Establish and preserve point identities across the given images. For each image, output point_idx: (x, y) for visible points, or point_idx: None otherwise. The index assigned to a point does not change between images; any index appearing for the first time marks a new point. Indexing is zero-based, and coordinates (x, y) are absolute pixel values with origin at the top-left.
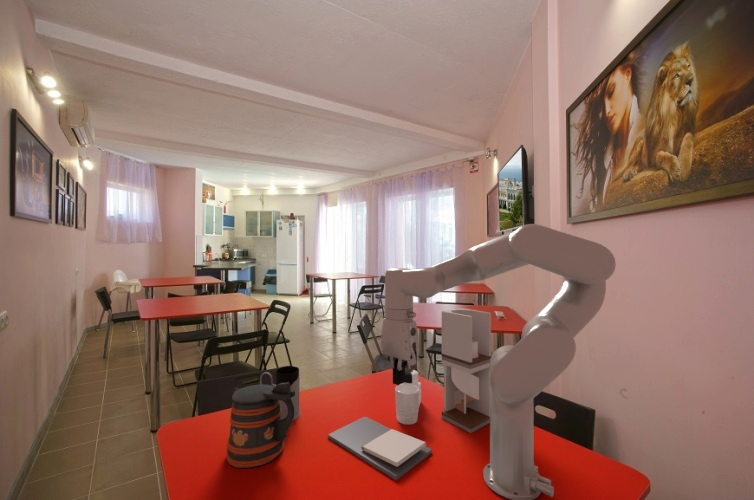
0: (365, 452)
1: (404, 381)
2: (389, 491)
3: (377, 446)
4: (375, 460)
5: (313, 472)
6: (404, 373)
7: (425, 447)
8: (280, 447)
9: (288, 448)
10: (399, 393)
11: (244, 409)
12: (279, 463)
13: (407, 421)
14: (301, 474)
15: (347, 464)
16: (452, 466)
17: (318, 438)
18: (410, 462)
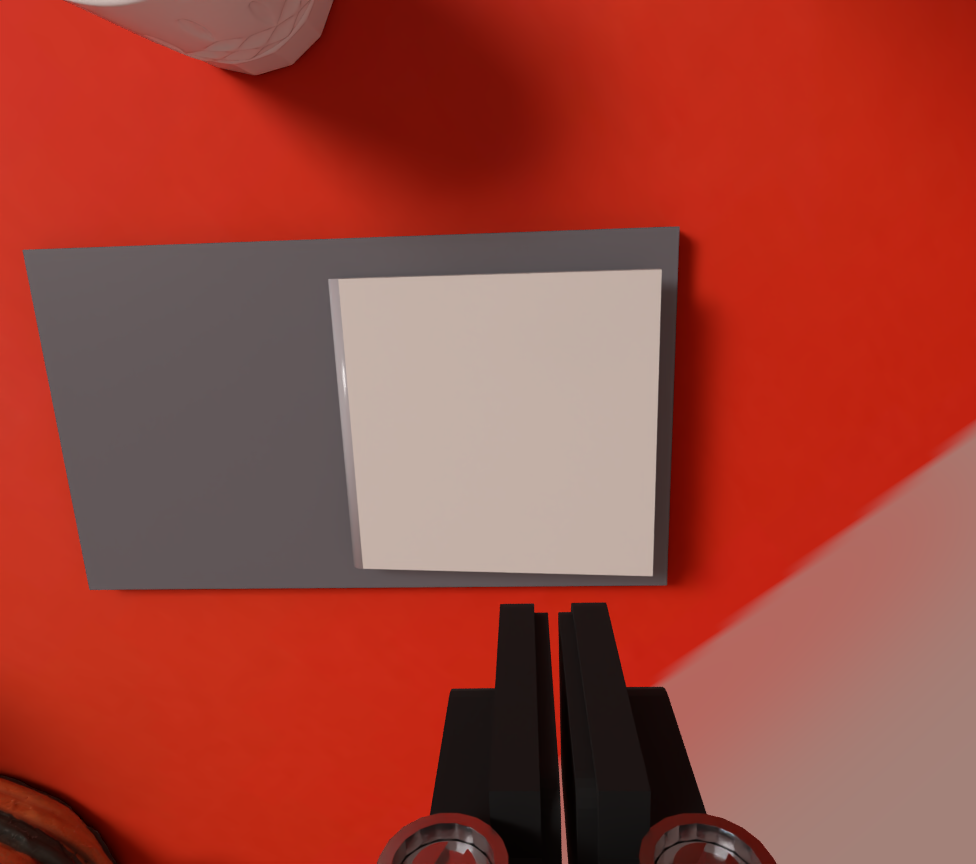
0: None
1: (605, 609)
2: (685, 646)
3: (434, 517)
4: None
5: (322, 790)
6: (691, 788)
7: (633, 242)
8: (71, 848)
9: (66, 770)
10: (121, 10)
11: None
12: (158, 852)
13: (301, 41)
14: (298, 829)
15: (384, 653)
16: (851, 248)
17: (71, 618)
18: None
